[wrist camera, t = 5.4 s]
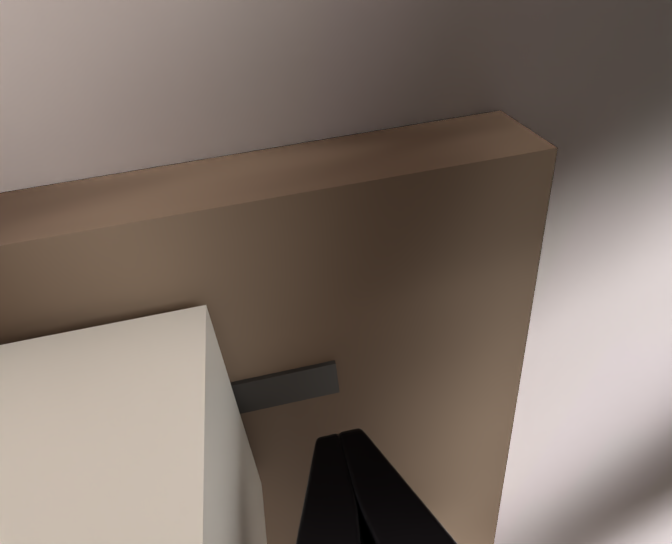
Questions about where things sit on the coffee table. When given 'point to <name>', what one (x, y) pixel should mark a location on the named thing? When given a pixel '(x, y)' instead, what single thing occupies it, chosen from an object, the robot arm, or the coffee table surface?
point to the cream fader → (125, 438)
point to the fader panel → (321, 292)
